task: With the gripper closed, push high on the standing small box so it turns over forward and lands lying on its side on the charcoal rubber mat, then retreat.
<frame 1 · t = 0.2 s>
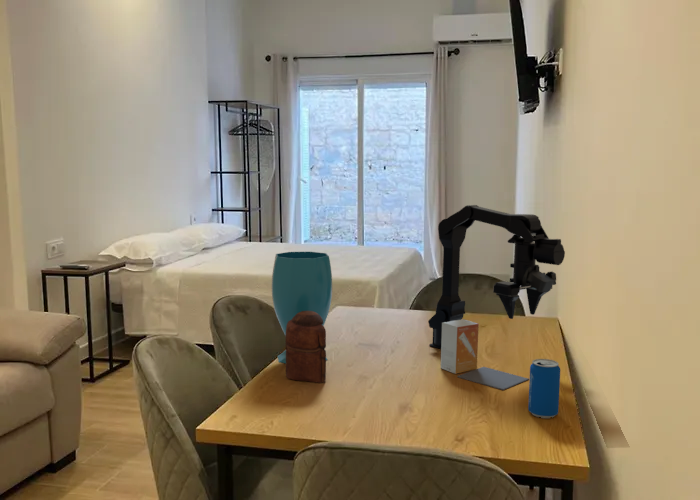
hand: (521, 316, 181), 14 cm above the table, fingers open, 9 cm apart
small box: (458, 369, 180), on the table
mat: (492, 378, 172), on the table
vase: (302, 358, 189), on the table
beverage can: (542, 415, 147), on the table
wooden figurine: (306, 379, 170), on the table
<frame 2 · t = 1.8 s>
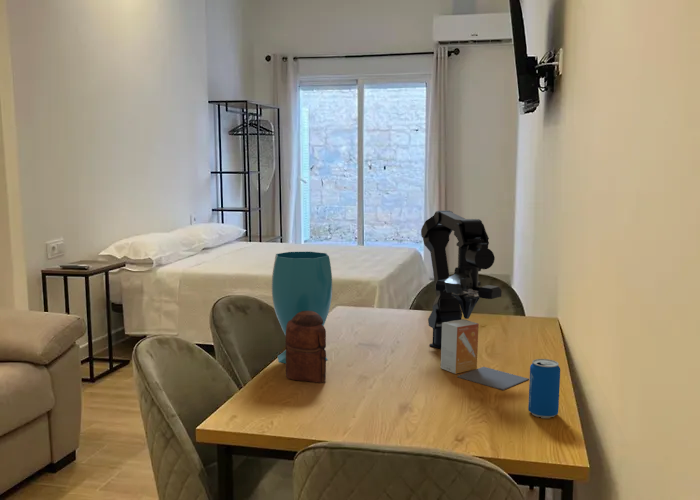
hand: (466, 318, 185), 12 cm above the table, fingers closed
nothing on the table moved.
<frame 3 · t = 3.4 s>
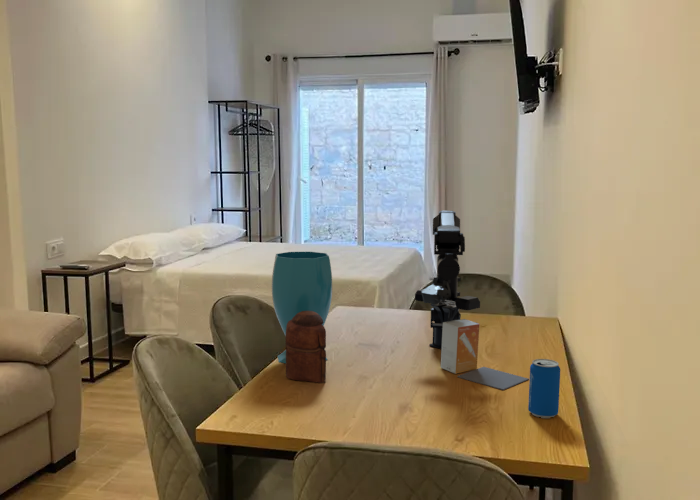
hand: (445, 329, 182), 10 cm above the table, fingers closed
small box: (458, 369, 180), on the table, touching gripper
everything else where it was.
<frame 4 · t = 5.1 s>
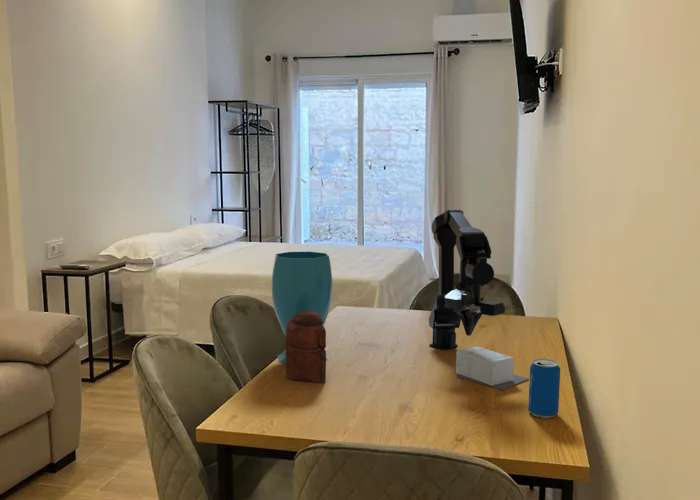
hand: (468, 335, 176), 10 cm above the table, fingers closed
small box: (466, 359, 177), point 3 cm above the table, touching mat
everything else where it was.
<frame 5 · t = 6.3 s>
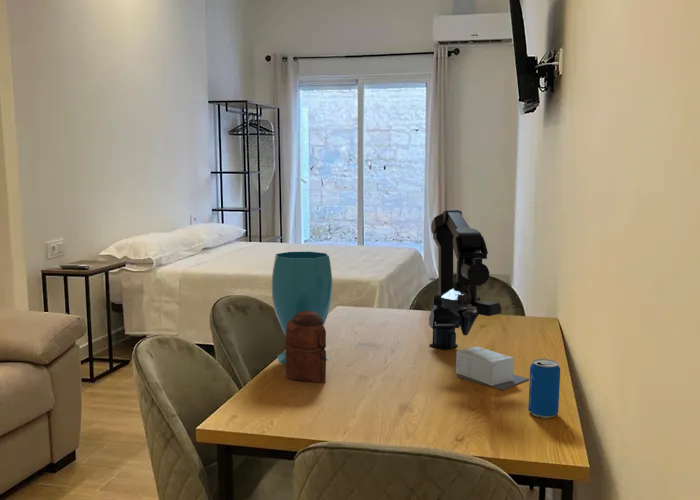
hand: (465, 335, 177), 10 cm above the table, fingers closed
nothing on the table moved.
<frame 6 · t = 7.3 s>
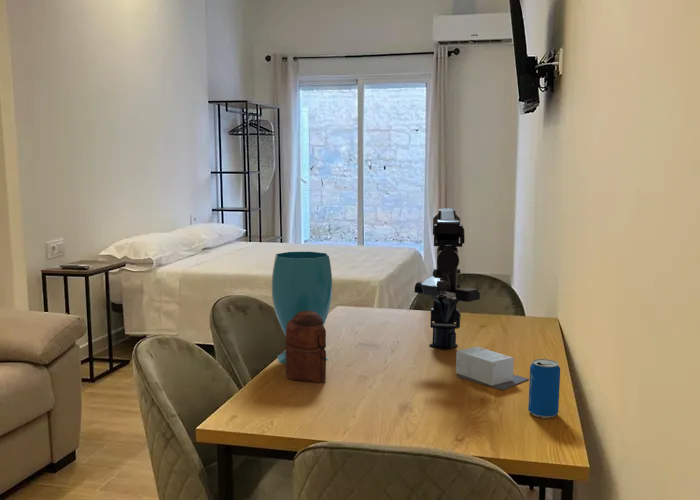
hand: (445, 321, 181), 12 cm above the table, fingers closed
nothing on the table moved.
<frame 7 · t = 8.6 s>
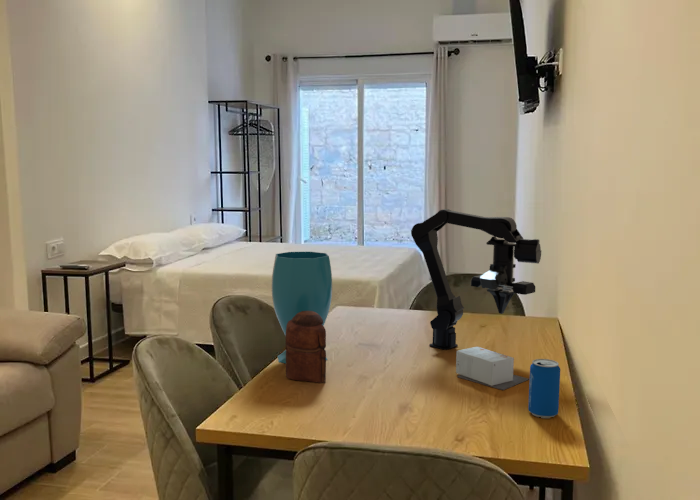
hand: (501, 313, 192), 13 cm above the table, fingers closed
nothing on the table moved.
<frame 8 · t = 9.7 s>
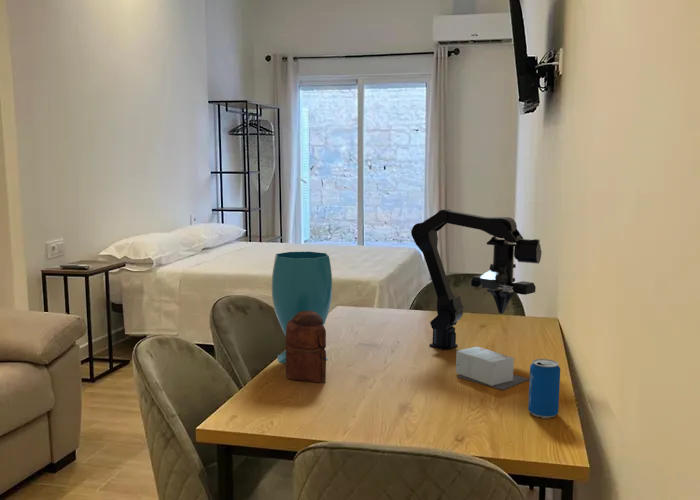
hand: (501, 313, 192), 12 cm above the table, fingers closed
nothing on the table moved.
at the end: small box tilted 89°; small box 8.4 cm from the mat (horizontally); the gripper is holding nothing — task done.
